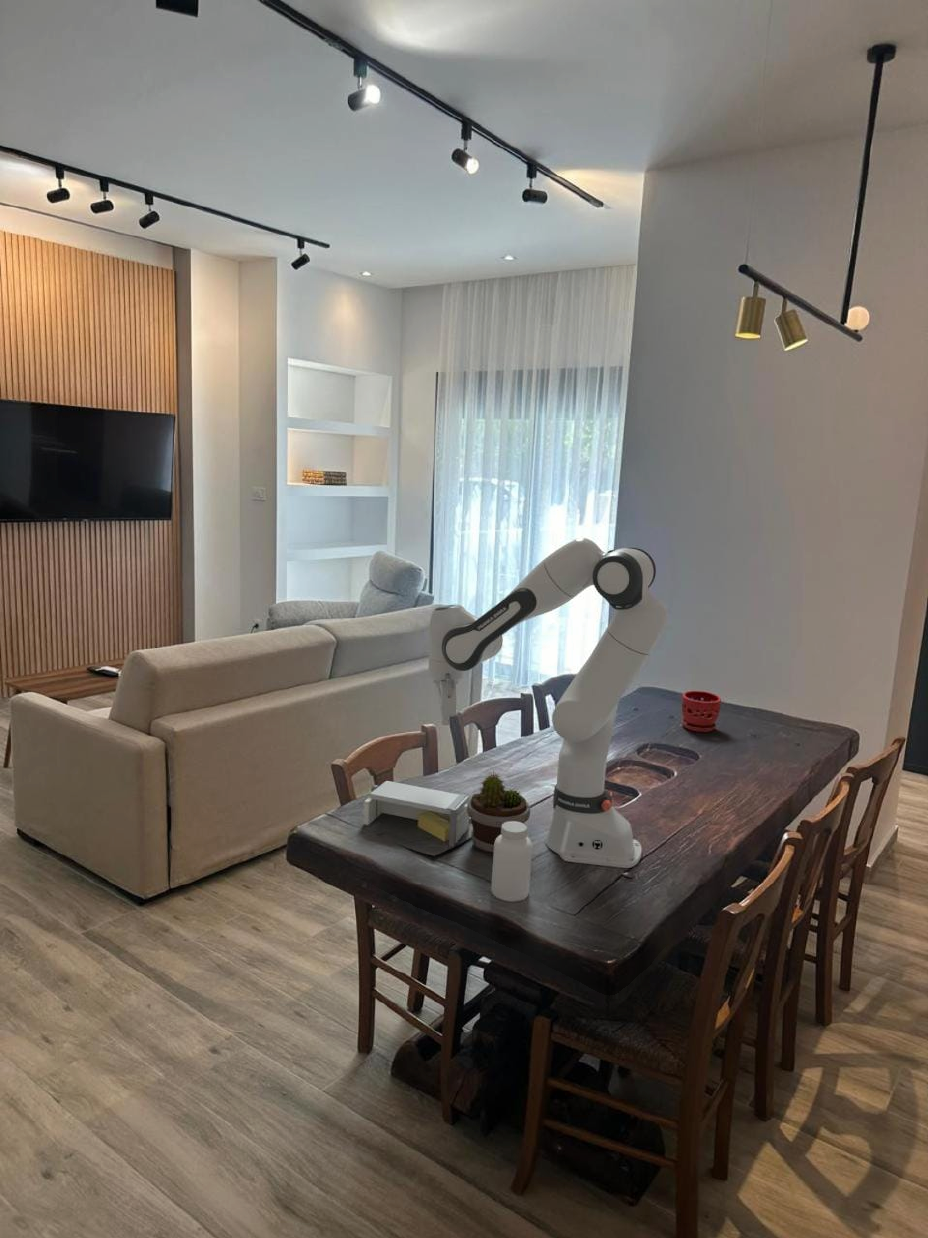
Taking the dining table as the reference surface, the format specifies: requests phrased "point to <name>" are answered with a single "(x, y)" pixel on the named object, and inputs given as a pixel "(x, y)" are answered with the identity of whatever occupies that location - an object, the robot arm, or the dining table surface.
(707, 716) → the plant pot
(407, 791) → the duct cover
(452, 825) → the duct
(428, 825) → the yellow rectangular block
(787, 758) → the dining table surface
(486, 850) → the flowerpot
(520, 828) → the pill bottle
